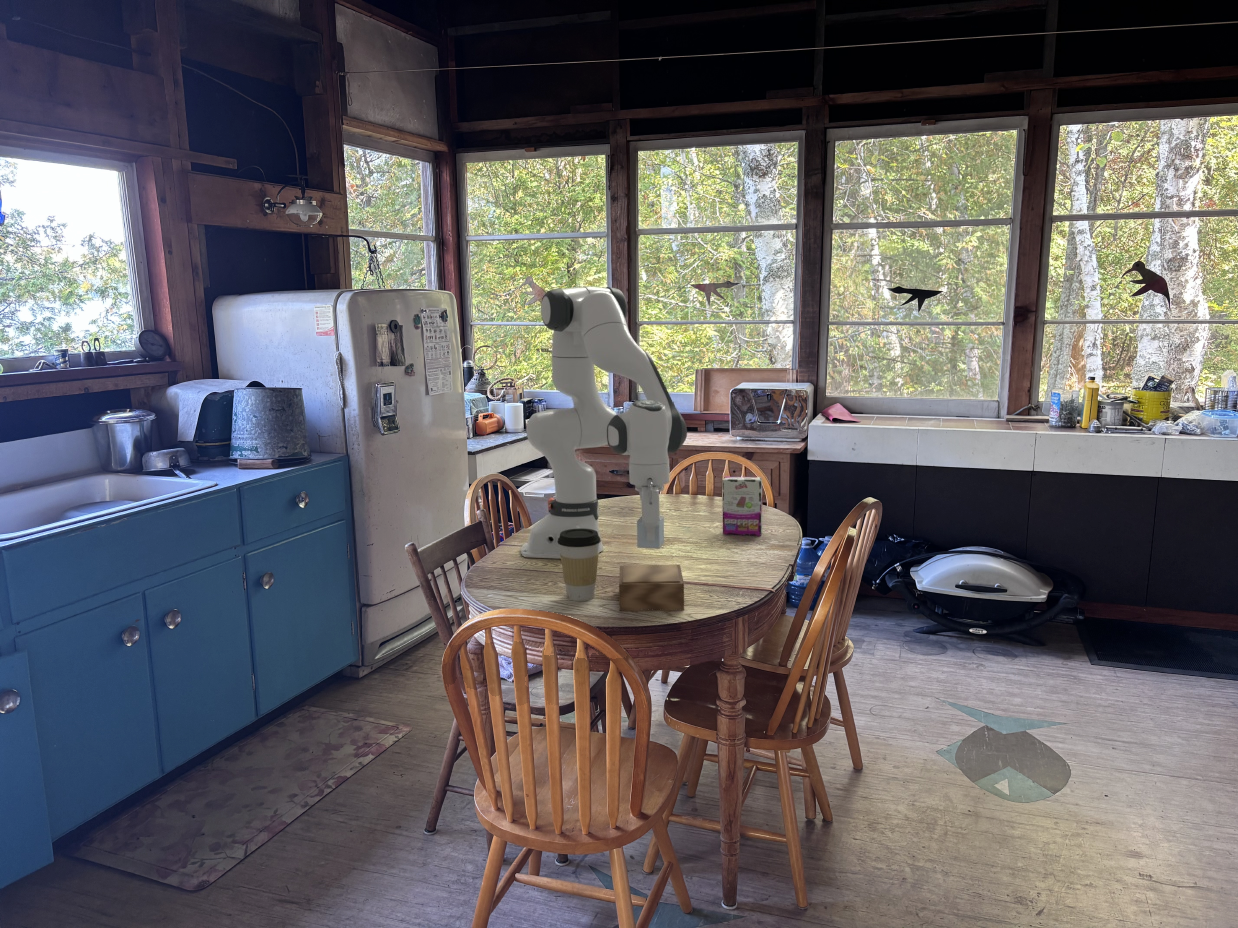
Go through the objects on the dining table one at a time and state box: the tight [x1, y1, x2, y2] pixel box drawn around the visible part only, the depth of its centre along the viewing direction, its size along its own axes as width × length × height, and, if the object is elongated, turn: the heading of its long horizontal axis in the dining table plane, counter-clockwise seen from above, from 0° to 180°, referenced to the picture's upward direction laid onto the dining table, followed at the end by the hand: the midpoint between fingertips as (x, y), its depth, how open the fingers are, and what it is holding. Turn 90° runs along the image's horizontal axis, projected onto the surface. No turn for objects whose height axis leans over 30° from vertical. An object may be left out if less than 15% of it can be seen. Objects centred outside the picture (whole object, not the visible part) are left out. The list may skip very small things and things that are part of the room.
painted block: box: [636, 515, 665, 549], centre depth 191 cm, size 5×5×6 cm
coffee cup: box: [557, 528, 602, 602], centre depth 195 cm, size 10×10×15 cm
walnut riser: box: [618, 563, 685, 612], centre depth 193 cm, size 14×14×6 cm
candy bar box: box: [721, 476, 763, 537], centre depth 248 cm, size 11×5×16 cm, turn 76°
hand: (650, 535), depth 191 cm, fingers closed on painted block, 6 cm apart
